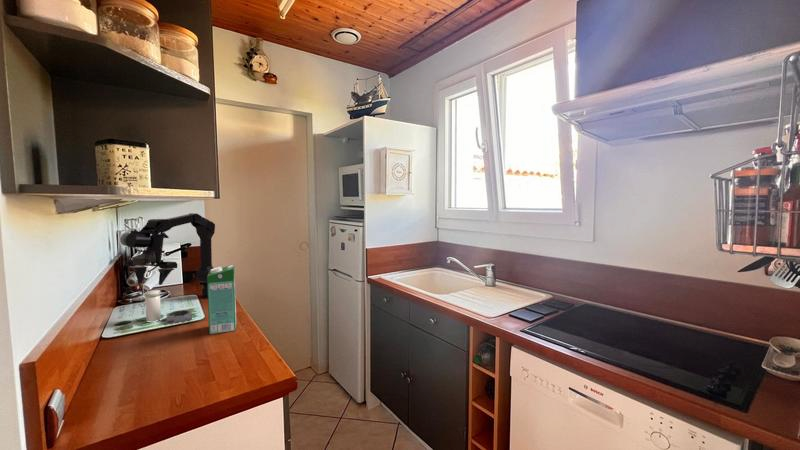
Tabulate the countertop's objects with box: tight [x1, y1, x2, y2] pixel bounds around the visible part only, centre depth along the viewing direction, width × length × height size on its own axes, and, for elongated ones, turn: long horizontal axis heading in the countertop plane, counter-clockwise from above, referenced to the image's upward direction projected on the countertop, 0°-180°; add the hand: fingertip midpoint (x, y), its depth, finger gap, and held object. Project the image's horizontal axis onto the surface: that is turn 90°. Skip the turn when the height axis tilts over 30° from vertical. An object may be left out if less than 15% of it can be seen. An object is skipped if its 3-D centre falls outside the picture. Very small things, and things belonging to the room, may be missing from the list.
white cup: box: [144, 289, 162, 321], centre depth 137 cm, size 5×5×12 cm
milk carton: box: [207, 264, 237, 335], centre depth 129 cm, size 9×9×25 cm
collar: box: [165, 309, 193, 325], centre depth 139 cm, size 9×9×3 cm
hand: (150, 284), depth 140 cm, fingers open, 9 cm apart
